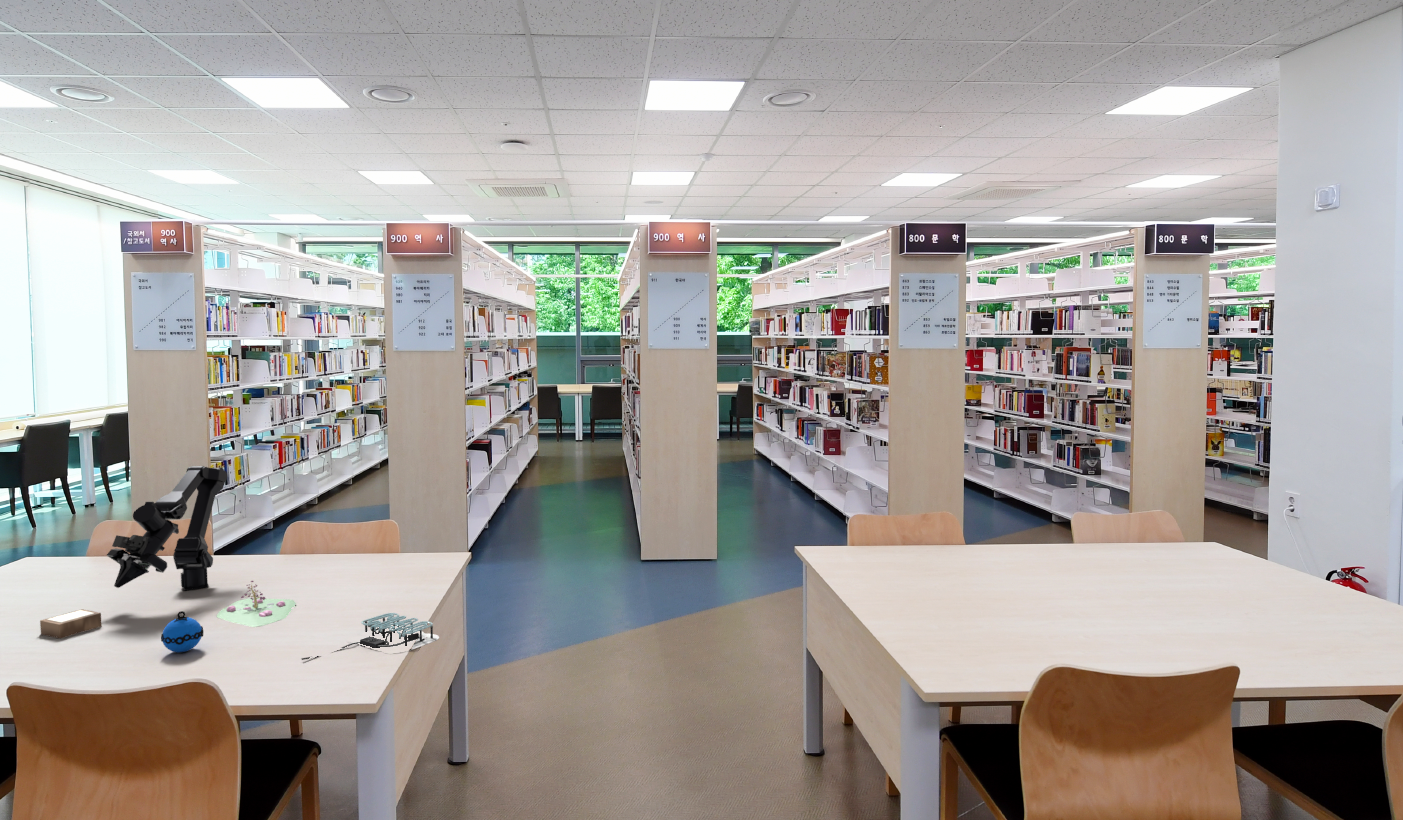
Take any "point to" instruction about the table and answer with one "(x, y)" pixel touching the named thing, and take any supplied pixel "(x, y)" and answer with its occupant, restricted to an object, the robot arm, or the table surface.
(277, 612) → the plant
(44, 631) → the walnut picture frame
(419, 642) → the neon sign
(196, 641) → the ornament
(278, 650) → the table surface
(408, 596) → the table surface
